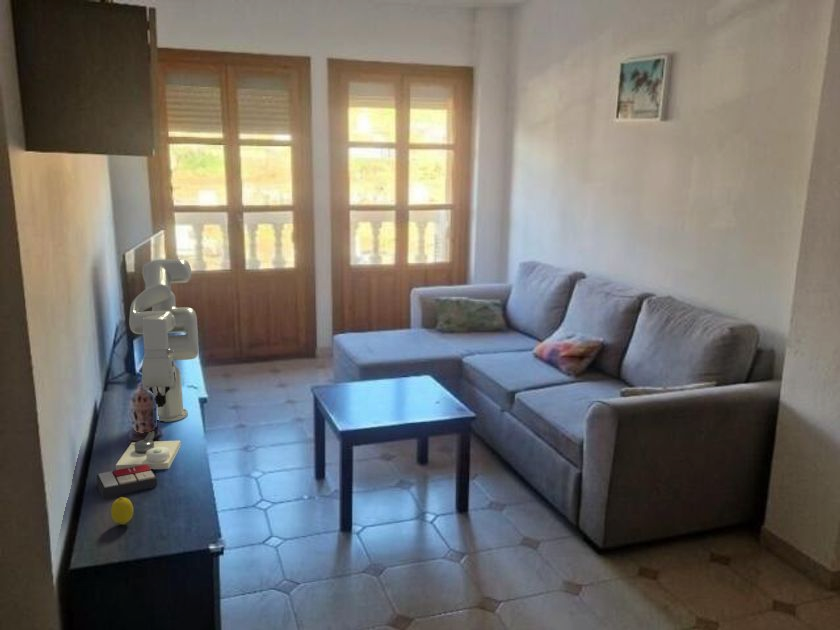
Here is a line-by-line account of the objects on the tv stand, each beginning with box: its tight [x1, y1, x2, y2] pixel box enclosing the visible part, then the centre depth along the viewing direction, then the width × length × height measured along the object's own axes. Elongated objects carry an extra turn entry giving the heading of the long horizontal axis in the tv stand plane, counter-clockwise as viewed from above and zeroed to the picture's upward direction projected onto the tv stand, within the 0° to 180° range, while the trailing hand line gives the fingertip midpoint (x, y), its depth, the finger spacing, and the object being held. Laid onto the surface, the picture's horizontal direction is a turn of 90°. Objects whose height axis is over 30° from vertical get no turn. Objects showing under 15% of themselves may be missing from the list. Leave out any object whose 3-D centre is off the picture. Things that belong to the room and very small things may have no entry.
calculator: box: [96, 465, 158, 500], centre depth 209 cm, size 11×4×15 cm
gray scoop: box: [134, 430, 155, 454], centre depth 233 cm, size 13×6×2 cm, turn 7°
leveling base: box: [115, 440, 182, 470], centre depth 228 cm, size 18×16×5 cm
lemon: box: [110, 496, 134, 526], centre depth 186 cm, size 6×6×8 cm
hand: (161, 405), depth 232 cm, fingers closed
